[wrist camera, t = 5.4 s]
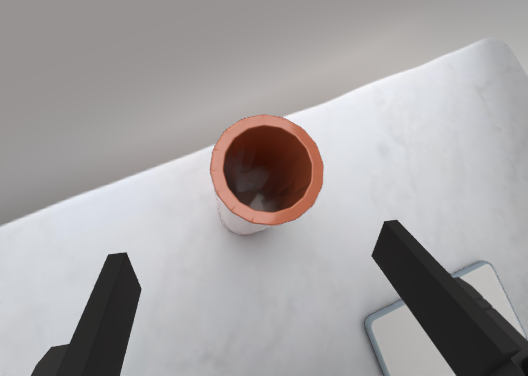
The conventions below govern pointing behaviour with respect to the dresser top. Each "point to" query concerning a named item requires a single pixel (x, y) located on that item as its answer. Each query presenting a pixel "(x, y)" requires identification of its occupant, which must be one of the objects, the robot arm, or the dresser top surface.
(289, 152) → the orange hollow tube
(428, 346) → the smartphone
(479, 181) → the dresser top surface
